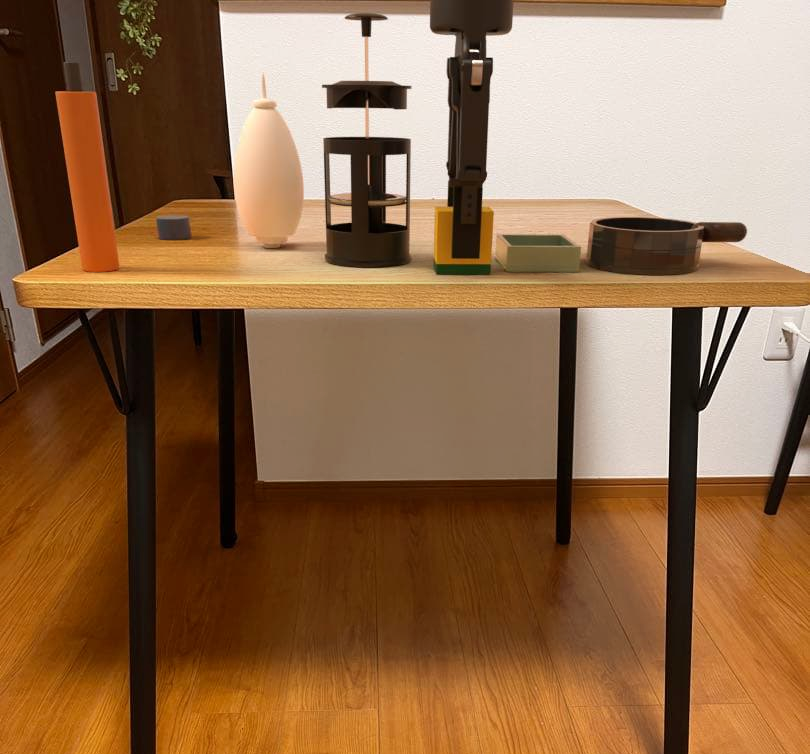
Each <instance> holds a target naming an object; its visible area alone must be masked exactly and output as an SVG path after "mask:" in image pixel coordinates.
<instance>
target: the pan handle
mask: <svg viewBox="0 0 810 754" xmlns="http://www.w3.org/2000/svg"><path fill="white" fill-rule="evenodd" d="M695 223H696V224H694V225H693V226H692V228H691V229H696V228H697V226H696V225H704V233H703V240H702V243H740V242H742V241H743V240H744V239H746V237H747V234H748V228H747V226H746V225H745V223H743V222H740V221H738V222H737V221H726V222H725V221H698V222H695Z"/></svg>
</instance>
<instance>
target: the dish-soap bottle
mask: <svg viewBox="0 0 810 754" xmlns="http://www.w3.org/2000/svg"><path fill="white" fill-rule="evenodd" d="M63 68H64V76H65V82H66V89H67V91H65V90H64V91H62V90H61V91H58V90H57V91H55V100H56V106H57V113H58V118H59V119H58V120H59V126H60V132H61V138H62V145H63V151H64V152H63V153H64V158H65V164H66V165H65V166H66V171H67V177H68V185H69V191H70V197H71V204H72V210H73V216H74V217H73V218H74V222H75V230H76V236H77V237H76V238H77V244H78V250H79V256H80V262H81V263H80V264H81V269H82V271H84V272H87V273H88V272H89V273H104V272H105V273H106V272H107V273H108V272H113V271H117V270H119V269H120V261H119V254H118V247H117V246H118V245H117V239H116V237H117V236H116V230H115V223H114V216H113V209H112V201H111V193H110V187H109V185H110V184H109V178H108V172H107V171H108V170H107V163H106V156H105V148H104V141H103V134H102V133H103V132H102V126H101V119H100V111H99V104H98V103H99V102H98V96H97V92H96V91H84V84H83V77H82V76H83V75H82V70H81V64H80V62H79V61H78V62H77V61H64V62H63Z"/></svg>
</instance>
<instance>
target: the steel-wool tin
mask: <svg viewBox="0 0 810 754" xmlns="http://www.w3.org/2000/svg"><path fill="white" fill-rule="evenodd" d="M155 221H156V229H157V238H158V239H159V240H163V241H164V240H165V241H180V240H181V241H182V240H189V239H191V238H192V227H191V218H190V216H189V215H185V214H167V215H157V216H156V217H155Z"/></svg>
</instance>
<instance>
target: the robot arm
mask: <svg viewBox="0 0 810 754" xmlns="http://www.w3.org/2000/svg"><path fill="white" fill-rule="evenodd" d="M429 2H430V3H429V29H430V31H431V32H432V33H433V34H435V35H439V36H440V35H441V36H455V43H454V56H450V57H447V58H446V76H447V79H448V85H447V86H448V87H447V105H448V108H449V109H448V133H447V135H448V138H447V160H446V162H445V166H446V170H447V177H448V181H447V202H446V203H447V205H446V207H453V222H452V253H451V258H452V259H479V258H480V237H481V216H482V207H483V193H484V192H483V191H484V188H483V186H484V184H485V183H486V180H487V178H488V171H487V164H488V163H487V162H488V161H487V158H488V139H489V137H488V135H489V117H490V115H489V114H490V101H491V80H492V79H491V78H492V76H493V73H494V58H493V57H487V36H488V37H491V36H493V37H494V36H504V35H508V34H509V33H511V31H512V29H513V20H514V19H513V18H514V5H515V0H429Z"/></svg>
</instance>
